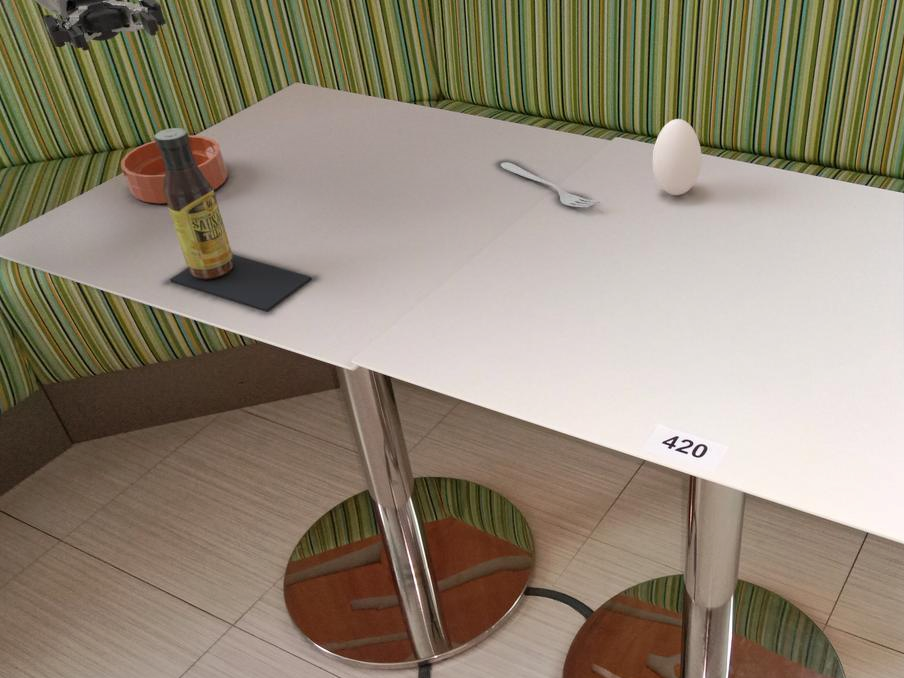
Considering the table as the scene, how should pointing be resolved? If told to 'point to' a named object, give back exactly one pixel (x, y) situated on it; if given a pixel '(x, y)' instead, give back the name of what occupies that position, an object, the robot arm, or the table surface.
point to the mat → (248, 283)
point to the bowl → (149, 169)
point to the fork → (564, 196)
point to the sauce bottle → (193, 208)
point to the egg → (676, 157)
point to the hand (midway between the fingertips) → (118, 34)
